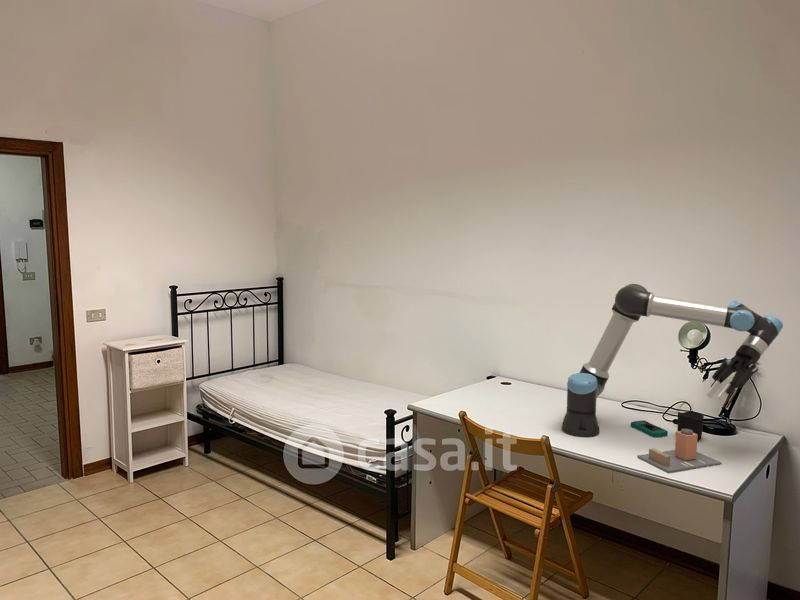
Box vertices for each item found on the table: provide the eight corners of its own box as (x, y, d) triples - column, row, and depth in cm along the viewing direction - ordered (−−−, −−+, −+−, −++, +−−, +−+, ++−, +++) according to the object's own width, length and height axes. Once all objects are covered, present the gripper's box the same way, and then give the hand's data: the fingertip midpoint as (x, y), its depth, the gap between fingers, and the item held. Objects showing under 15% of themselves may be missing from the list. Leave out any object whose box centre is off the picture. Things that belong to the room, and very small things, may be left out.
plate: (688, 449, 222) (688, 439, 221) (721, 464, 208) (722, 452, 207) (637, 457, 214) (637, 446, 213) (668, 473, 200) (669, 461, 199)
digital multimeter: (653, 439, 235) (654, 432, 235) (629, 427, 249) (630, 420, 249) (668, 437, 237) (669, 430, 237) (643, 425, 251) (644, 419, 251)
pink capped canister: (685, 453, 215) (686, 427, 214) (696, 458, 210) (697, 431, 209) (674, 455, 213) (676, 429, 212) (685, 460, 208) (687, 433, 207)
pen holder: (676, 432, 241) (678, 409, 240) (702, 436, 237) (703, 412, 236) (675, 439, 233) (677, 415, 232) (702, 443, 229) (703, 418, 228)
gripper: (777, 361, 210) (739, 410, 206) (735, 352, 226) (700, 397, 222) (767, 348, 208) (729, 397, 204) (726, 340, 224) (690, 385, 220)
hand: (714, 397), depth 213 cm, fingers open, 4 cm apart
